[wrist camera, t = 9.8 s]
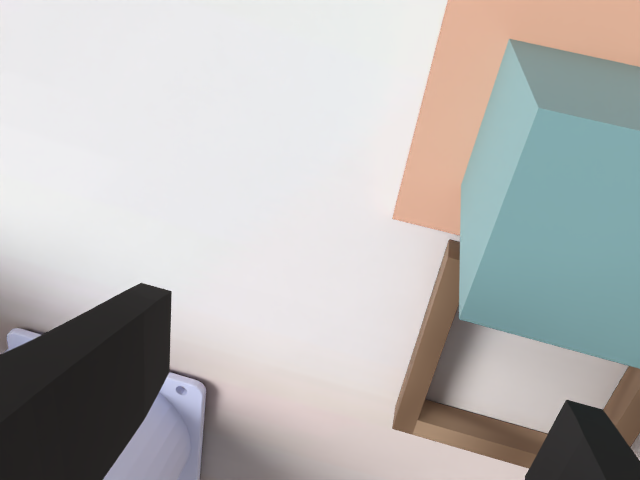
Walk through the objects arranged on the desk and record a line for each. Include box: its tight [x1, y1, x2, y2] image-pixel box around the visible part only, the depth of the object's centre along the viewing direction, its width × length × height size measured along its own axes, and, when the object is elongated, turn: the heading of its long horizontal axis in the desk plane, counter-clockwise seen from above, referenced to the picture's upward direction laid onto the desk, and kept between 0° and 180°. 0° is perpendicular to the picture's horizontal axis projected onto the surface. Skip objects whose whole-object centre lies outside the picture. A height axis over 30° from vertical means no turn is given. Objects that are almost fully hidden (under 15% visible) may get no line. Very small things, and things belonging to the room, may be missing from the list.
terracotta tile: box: [392, 0, 640, 235], centre depth 16 cm, size 8×8×1 cm
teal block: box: [459, 39, 640, 369], centre depth 13 cm, size 4×4×7 cm
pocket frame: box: [392, 240, 640, 468], centre depth 20 cm, size 8×8×1 cm
